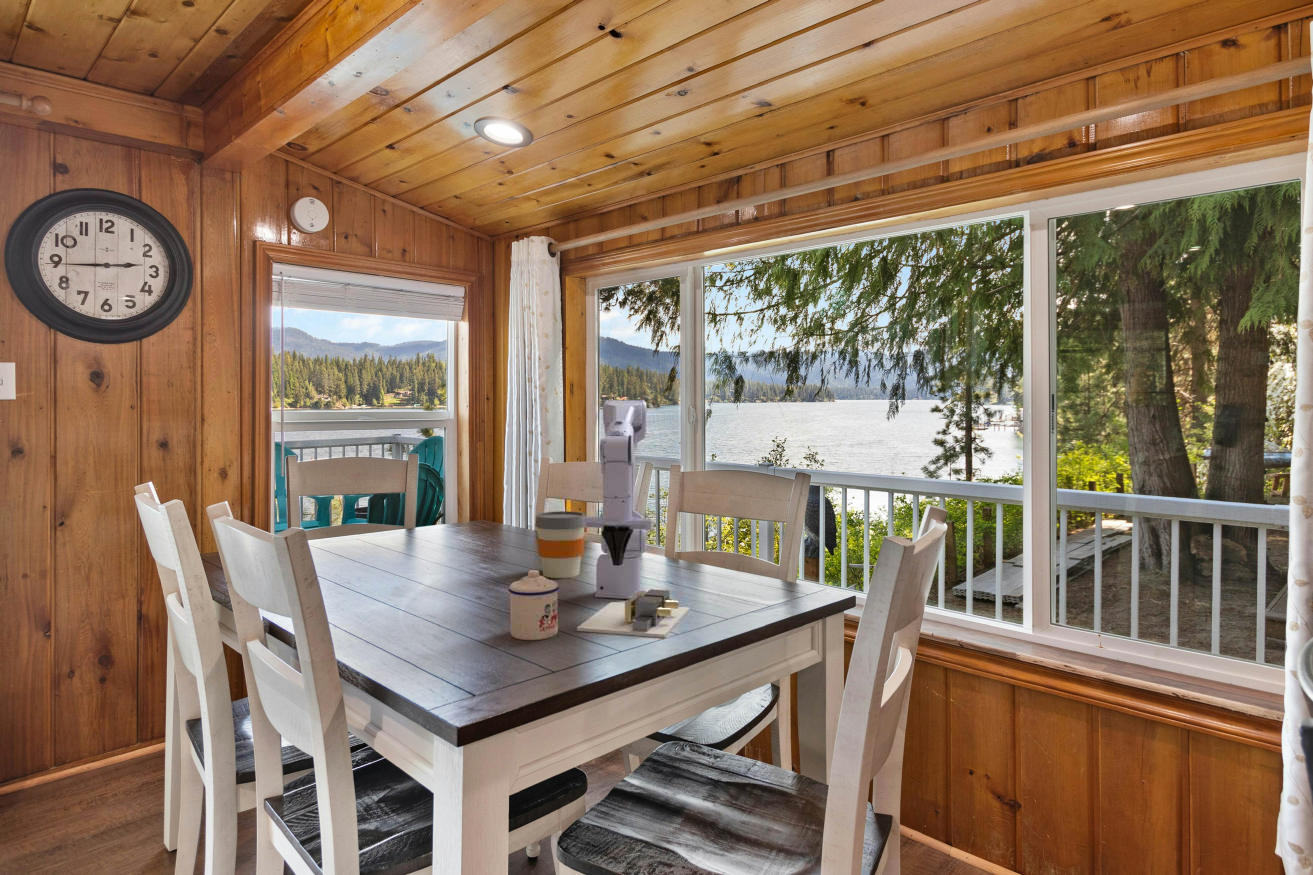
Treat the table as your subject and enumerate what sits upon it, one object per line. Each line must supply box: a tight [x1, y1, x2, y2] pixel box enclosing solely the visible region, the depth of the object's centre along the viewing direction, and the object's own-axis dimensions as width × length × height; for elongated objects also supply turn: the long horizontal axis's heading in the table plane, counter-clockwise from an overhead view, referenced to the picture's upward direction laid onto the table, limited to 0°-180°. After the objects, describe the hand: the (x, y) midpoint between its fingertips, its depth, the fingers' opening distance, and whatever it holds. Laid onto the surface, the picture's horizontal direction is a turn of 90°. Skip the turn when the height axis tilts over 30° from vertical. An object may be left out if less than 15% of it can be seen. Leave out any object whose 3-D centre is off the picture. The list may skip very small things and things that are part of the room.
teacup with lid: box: [508, 569, 560, 641], centre depth 139 cm, size 12×9×12 cm
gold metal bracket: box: [624, 590, 680, 622], centre depth 145 cm, size 8×10×4 cm
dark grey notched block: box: [644, 588, 672, 618], centre depth 150 cm, size 4×8×4 cm, turn 164°
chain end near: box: [633, 596, 662, 632], centre depth 141 cm, size 4×8×4 cm, turn 164°
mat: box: [576, 601, 690, 639], centre depth 146 cm, size 17×19×1 cm
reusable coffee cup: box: [534, 510, 586, 579], centre depth 187 cm, size 13×13×15 cm
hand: (617, 564), depth 149 cm, fingers closed
